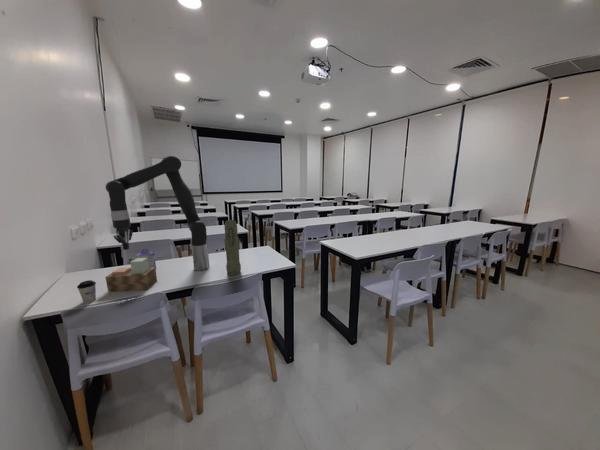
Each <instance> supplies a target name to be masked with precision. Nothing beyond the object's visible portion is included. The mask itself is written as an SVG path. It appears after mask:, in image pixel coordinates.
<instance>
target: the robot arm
mask: <svg viewBox="0 0 600 450" xmlns="http://www.w3.org/2000/svg"><path fill="white" fill-rule="evenodd" d="M181 167H182V162H181V159H180V158H178V157H176V156H174V155H168V156H166V157H163V159H161V161H159V162H158V163H156V164H153V165H151V166H148V167H145V168H141V169H139V170H136V171H133V172H131V173H129V174H126V175H125V176H121V177H120V178H116V179H113V180H110V181H108V182H107V183H105V190H106V192H107V193H108V198H109V208H110V217H111V222H112V226H113V228H114V229H115V233H116V234H115V235H113V239H115V240H116V241H117V242H118V244H122V249H123V250H126V251H127V250H129V249H130V244H129V242H130V241H131V240H132V237H133V233H134V231H133V230H131V229H130V227H131V225H132V224H131V219H130V218H131V217H130V214H129V211H128V206H127V201H126V191H127V190H129V189H131V188H136V187H138V186H141V185H143V184H145V183H147V182H149V181H152V180H153V179H155V178H158V177H159V176H162V175H166V177H167V179H168V180H169V183H170V186H171V189H172V192H173V193H174V196H175V199H176V200H177V203H178V205H179V207H180V209H181V210H182V212H183V214H184V217H185V219H186V222H187V225H188V229H189V231H190V233H191V241H190V242H191V243H190V244H191V251H192V260H193V261H192V263H193V270H194V271H204V270H208V269H209V267H210V257H209V253H208V246H207V240H208V238H207V237H208V236H207V227H206V224H205V223H204V222H202V221H201V219H200V217H199V214H198V213H197V210H196V209H197V208H196V204H195V199H194V196H193V194H192V191H191V190H190V188H189V187H188V185H187V184H186V183H185V181H184V180H183V178H182V176H181V173H180V169H181Z"/></svg>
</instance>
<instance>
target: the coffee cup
mask: <svg viewBox="0 0 600 450" xmlns="http://www.w3.org/2000/svg"><path fill="white" fill-rule="evenodd" d="M96 284H97V283H96V281H95V280H90V279H89V280H84V281H82V282H80V283H79V284H78V285H77V286H76V288H77V290H78V291H79V293H80V297H81V299H82V302H83V304H89V303H93V302H94V301H96V300H97V297H96V296H97V294H96V293H97V291H96Z"/></svg>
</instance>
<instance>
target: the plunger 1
mask: <svg viewBox="0 0 600 450" xmlns="http://www.w3.org/2000/svg"><path fill="white" fill-rule="evenodd" d="M129 271H131V266H130V267H119V268H117V269H115V270H114V271H112V272H111V273H112V274H113V275H123V274H126V273H128V272H129Z"/></svg>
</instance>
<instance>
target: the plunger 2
mask: <svg viewBox="0 0 600 450" xmlns="http://www.w3.org/2000/svg"><path fill="white" fill-rule="evenodd" d="M130 267H131V270H132V274H144V273H146V272H147V271H148V270H150V269H149V262H148V258H136V257H135V259H132V260H131V261H130Z"/></svg>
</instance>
